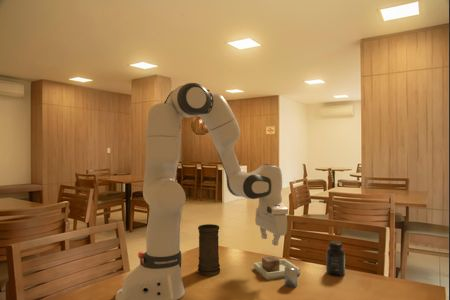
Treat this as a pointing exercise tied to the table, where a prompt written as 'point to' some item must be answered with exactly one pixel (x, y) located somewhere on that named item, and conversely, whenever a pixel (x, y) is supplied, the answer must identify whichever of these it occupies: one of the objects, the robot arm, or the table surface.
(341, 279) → the table surface
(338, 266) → the supplement bottle
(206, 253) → the container
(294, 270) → the metal cylinder
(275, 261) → the walnut block
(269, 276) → the tray
